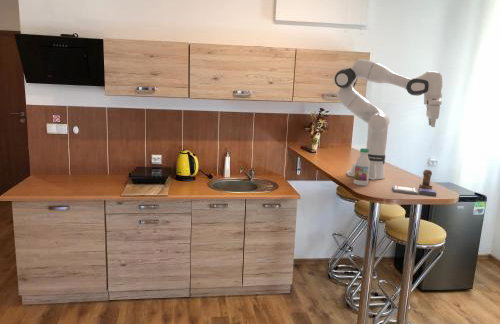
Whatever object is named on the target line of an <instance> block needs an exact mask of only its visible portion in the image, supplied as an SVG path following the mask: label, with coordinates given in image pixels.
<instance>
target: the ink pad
mask: <svg viewBox="0 0 500 324" xmlns="http://www.w3.org/2000/svg"><path fill="white" fill-rule="evenodd" d="M417 191H418V195H420V196H421V195H422V196H423V195H424V196H429V197H437V191H436V190H434V189H432V190H431V189H422V188H420V189H419V188H418V189H417Z"/></svg>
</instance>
